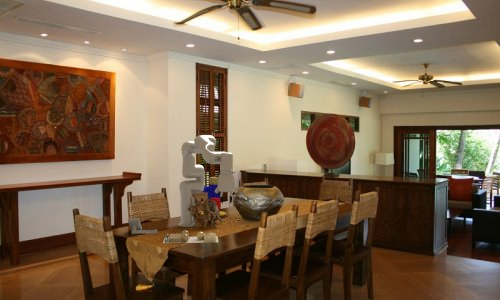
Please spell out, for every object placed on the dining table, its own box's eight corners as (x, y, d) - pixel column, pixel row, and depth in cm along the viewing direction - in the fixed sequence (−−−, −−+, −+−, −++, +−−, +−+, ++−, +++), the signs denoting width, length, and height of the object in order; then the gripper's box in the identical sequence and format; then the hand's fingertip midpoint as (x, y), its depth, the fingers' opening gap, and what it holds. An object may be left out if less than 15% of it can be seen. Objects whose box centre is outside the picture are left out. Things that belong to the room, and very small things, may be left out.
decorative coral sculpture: (227, 209, 314) (231, 209, 285) (211, 237, 309) (214, 239, 280) (197, 192, 313) (199, 190, 284) (181, 219, 308) (181, 220, 279)
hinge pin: (165, 237, 257) (165, 234, 257) (168, 237, 257) (168, 234, 257) (163, 242, 245) (164, 239, 244) (167, 242, 245) (167, 239, 245)
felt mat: (164, 237, 258) (164, 237, 258) (217, 236, 262) (217, 236, 262) (162, 244, 243) (162, 243, 243) (218, 242, 247) (218, 242, 247)
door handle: (130, 240, 276) (127, 230, 258) (131, 228, 280) (127, 218, 262) (158, 238, 279) (156, 229, 261) (158, 227, 282) (156, 217, 265)
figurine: (218, 211, 354) (218, 175, 353) (232, 215, 336) (232, 177, 336) (195, 213, 341) (195, 176, 340) (208, 217, 324) (209, 179, 323)
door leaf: (196, 237, 259) (196, 230, 259) (215, 236, 260) (215, 229, 260) (196, 241, 247) (196, 234, 247) (216, 241, 248) (216, 234, 248)
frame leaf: (169, 237, 257) (170, 230, 257) (188, 237, 258) (188, 230, 258) (168, 242, 245) (168, 235, 245) (188, 242, 246) (188, 234, 246)
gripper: (239, 172, 259) (239, 202, 259) (212, 172, 257) (212, 202, 257) (241, 173, 251) (240, 203, 252) (212, 173, 249) (212, 204, 250)
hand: (226, 202), depth 254 cm, fingers open, 4 cm apart
